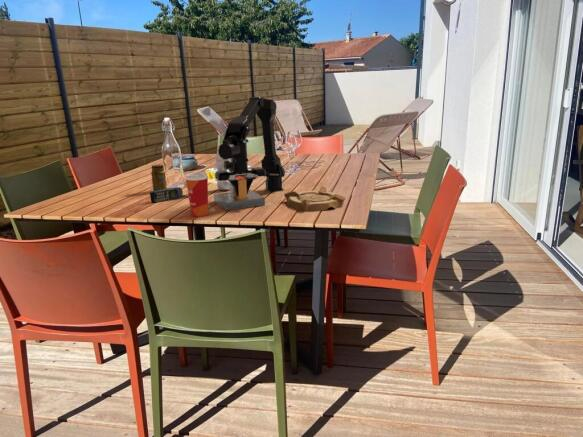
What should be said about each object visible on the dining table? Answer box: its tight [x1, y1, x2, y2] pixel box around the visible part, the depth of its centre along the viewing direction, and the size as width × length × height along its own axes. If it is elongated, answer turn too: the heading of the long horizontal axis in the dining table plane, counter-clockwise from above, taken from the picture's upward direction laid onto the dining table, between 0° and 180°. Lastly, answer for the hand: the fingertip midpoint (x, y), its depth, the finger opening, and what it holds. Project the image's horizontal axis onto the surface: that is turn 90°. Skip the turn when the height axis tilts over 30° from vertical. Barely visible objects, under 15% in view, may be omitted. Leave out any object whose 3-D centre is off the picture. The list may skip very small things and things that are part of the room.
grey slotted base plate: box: [213, 182, 266, 211], centre depth 174 cm, size 16×16×8 cm
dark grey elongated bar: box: [149, 186, 186, 204], centre depth 183 cm, size 5×3×15 cm
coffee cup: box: [184, 172, 209, 218], centre depth 158 cm, size 8×8×15 cm
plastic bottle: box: [214, 145, 231, 191], centre depth 196 cm, size 6×7×20 cm
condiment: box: [150, 164, 168, 192], centre depth 197 cm, size 7×8×12 cm
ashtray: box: [283, 186, 346, 212], centre depth 171 cm, size 24×24×5 cm
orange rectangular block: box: [236, 177, 247, 200], centre depth 169 cm, size 3×3×8 cm
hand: (241, 195), depth 170 cm, fingers closed on orange rectangular block, 3 cm apart
